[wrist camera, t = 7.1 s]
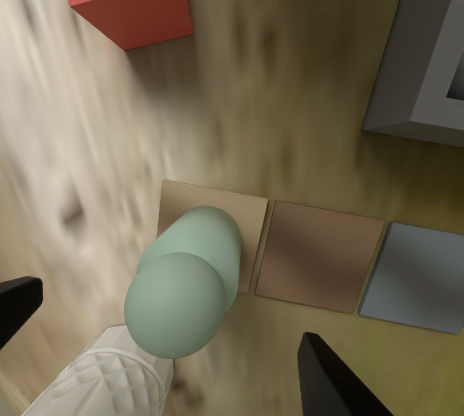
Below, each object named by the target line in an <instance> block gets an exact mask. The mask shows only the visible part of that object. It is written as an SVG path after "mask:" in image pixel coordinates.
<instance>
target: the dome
mask: <svg viewBox="0 0 464 416" xmlns="http://www.w3.org/2000/svg"><path fill="white" fill-rule="evenodd" d="M446 98H451V99H457V100H463V101H464V50H463V53H462V56H461V58H460V61H459V64H458V66H457V69H456V72H455V74H454V77H453V80H452V82H451V85H450V88H449V90H448V93H447V96H446Z"/></svg>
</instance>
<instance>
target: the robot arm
mask: <svg viewBox="0 0 464 416" xmlns="http://www.w3.org/2000/svg"><path fill="white" fill-rule="evenodd" d="M42 301H43V283H42V280H41V279H40V278H36V277H31V276H26V277H22V278H18V279H14V280H10V281H6V282H2V283H0V350H1V349H2V348H3V347H4V346H5V344H6V343H7V342H8V341H9V340H10V339H11V338H12V337H13V336H14V335H15V333H16V332H17V331H18V330H19V329H20V328H21V327H22V326H23V325H24V324H25V322H26V321H27V320H28V319H29V318H30V317H31V316H32V315H33V314H34V312H35V311H36V310H37V309H38V308H39V307H40V305H41V304H42ZM297 359H298V369H299V379H300V389H301V399H302V408H303V416H394V415H393V414H392V413H391V412H390V411H389V410H388V409H387V408H386V407H385V406H384V405H383V404H382V403H381V402H380V400H379V399H378V398H377V397H376V396H375V395H374V394H373V393H372V392H371V391H370V390H369V389H368V388H367V386H366V385H365V384H364V383H363V382H362V381H361V380H360V379H359V378H358V377H357V376H356V375H355V374H354V373H353V371H352V370H351V369H350V368H349V367H348V366H347V365H346V364H345V363H344V362H343V361H342V360H341V359H340V358H339V356H338V355H337V354H336V353H335V352H334V351H333V350H332V349H331V348H330V347H329V346H328V345H327V344H326V343H325V341H324V340H323V339H322V338H321V337H320V336H319V335H318V334H315V333H311V332H305V333H304V334H303V337H302V340H301V343H300V346H299V350H298V356H297Z"/></svg>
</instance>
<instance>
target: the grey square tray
mask: <svg viewBox="0 0 464 416" xmlns="http://www.w3.org/2000/svg"><path fill="white" fill-rule="evenodd" d="M463 50H464V0H400V1H399V4H398V7H397V11H396V14H395V18H394V21H393V24H392V28H391V31H390V34H389V38H388V41H387V44H386V48H385V51H384V54H383V58H382V61H381V65H380V68H379V71H378V75H377V78H376V81H375V85H374V88H373V91H372V95H371V98H370V101H369V105H368V108H367V112H366V115H365V118H364V122H363V125H362V128H361V130H362V131H368V132H374V133H380V134H385V135H391V136H397V137H403V138H408V139H414V140H420V141H426V142H431V143H437V144H443V145H448V146H454V147H460V148H464V101H463V100H457V99H451V98H446V96H447V93H448V90H449V88H450V85H451V82H452V80H453V77H454V74H455V72H456V69H457V66H458V64H459V61H460V58H461V56H462V53H463Z"/></svg>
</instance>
